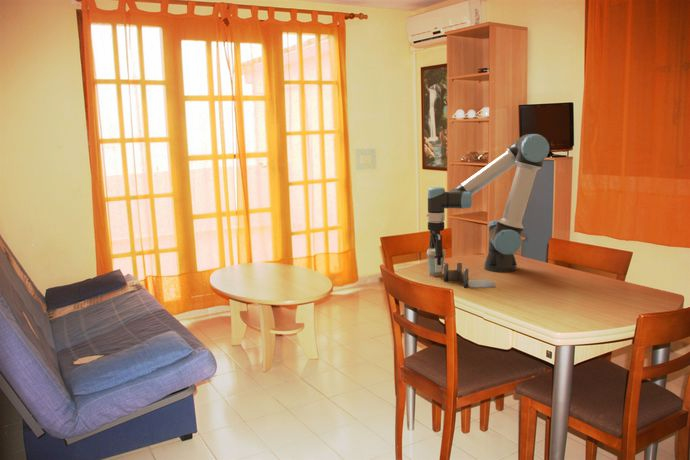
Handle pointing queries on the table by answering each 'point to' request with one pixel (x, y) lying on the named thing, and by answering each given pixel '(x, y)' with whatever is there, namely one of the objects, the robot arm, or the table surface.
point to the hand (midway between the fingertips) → (435, 268)
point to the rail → (456, 275)
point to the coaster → (480, 284)
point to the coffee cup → (433, 262)
